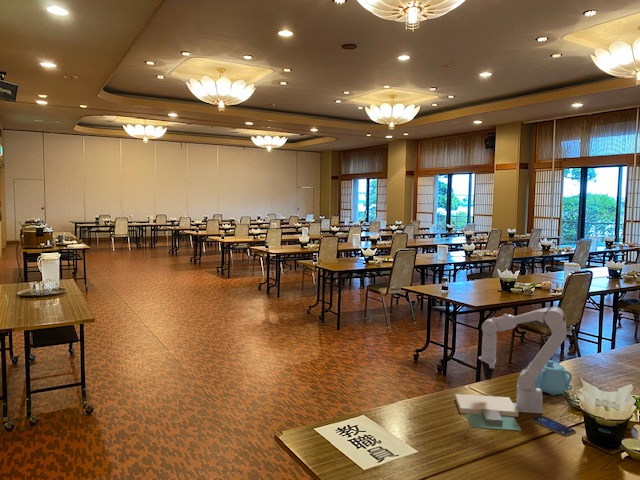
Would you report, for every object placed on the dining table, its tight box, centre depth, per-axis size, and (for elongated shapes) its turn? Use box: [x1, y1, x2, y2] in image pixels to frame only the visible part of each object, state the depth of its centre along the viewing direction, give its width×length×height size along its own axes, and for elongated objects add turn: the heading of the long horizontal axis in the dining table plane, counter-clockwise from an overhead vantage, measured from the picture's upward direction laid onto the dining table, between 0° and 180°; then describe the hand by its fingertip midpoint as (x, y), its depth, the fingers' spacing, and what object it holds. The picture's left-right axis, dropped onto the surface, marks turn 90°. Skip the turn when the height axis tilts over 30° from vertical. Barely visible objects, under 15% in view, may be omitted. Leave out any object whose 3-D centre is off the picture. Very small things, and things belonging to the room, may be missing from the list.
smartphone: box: [530, 414, 577, 437], centre depth 183 cm, size 7×1×15 cm
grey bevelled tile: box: [481, 409, 503, 425], centre depth 187 cm, size 6×9×2 cm, turn 172°
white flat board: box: [454, 393, 519, 418], centre depth 198 cm, size 22×14×2 cm, turn 83°
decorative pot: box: [527, 359, 573, 396], centre depth 216 cm, size 16×16×14 cm
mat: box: [465, 413, 522, 432], centre depth 185 cm, size 18×11×1 cm, turn 83°
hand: (487, 379), depth 204 cm, fingers closed
